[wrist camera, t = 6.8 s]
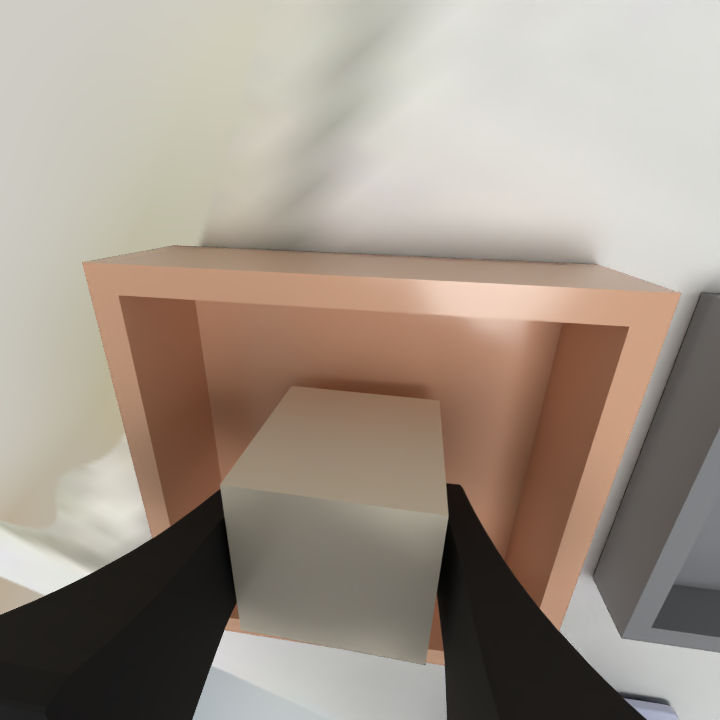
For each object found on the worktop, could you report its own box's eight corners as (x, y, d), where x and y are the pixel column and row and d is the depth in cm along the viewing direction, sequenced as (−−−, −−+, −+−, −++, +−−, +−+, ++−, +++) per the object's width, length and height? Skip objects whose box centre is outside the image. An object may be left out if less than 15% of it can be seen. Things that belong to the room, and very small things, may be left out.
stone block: (425, 517, 14) (425, 664, 10) (297, 499, 15) (240, 630, 10) (439, 400, 12) (448, 516, 8) (291, 385, 13) (219, 484, 8)
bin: (513, 578, 17) (540, 680, 14) (220, 539, 19) (173, 621, 15) (597, 264, 12) (681, 293, 8) (173, 245, 13) (81, 262, 10)
